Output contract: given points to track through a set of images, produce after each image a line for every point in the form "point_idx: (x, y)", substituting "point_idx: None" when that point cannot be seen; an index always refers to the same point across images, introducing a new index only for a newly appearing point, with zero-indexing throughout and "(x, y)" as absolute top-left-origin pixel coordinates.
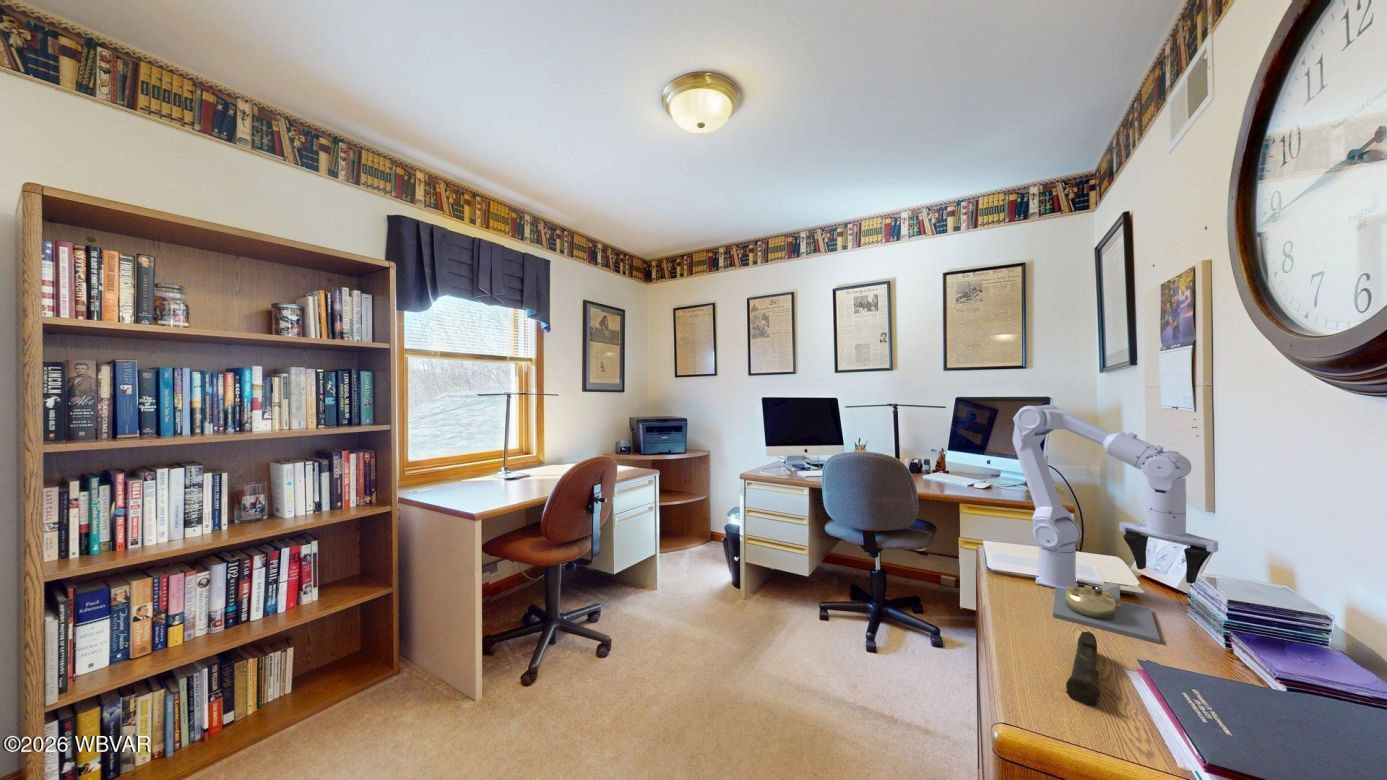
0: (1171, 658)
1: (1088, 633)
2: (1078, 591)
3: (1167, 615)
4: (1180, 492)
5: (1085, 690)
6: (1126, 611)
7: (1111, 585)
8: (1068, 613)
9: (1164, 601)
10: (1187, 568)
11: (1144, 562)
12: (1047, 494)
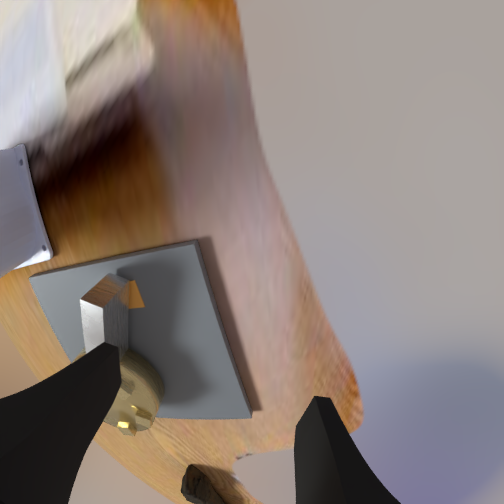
0: (272, 438)
1: (188, 496)
2: None
3: (240, 232)
4: None
5: None
6: (163, 326)
7: (94, 330)
8: None
9: (215, 91)
10: (299, 496)
11: (104, 381)
12: None
